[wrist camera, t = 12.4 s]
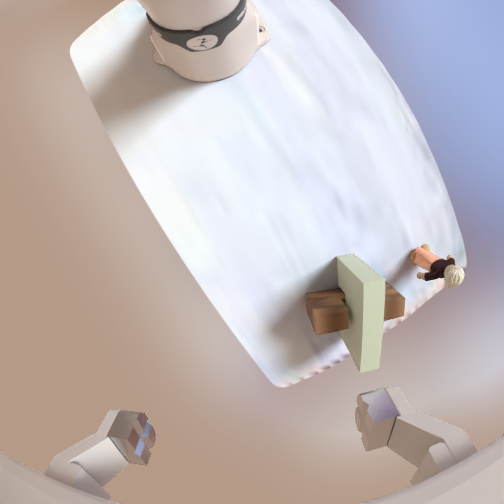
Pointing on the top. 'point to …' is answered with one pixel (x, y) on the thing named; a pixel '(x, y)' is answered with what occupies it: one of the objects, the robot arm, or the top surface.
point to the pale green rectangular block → (362, 310)
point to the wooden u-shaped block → (345, 309)
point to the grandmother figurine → (436, 267)
